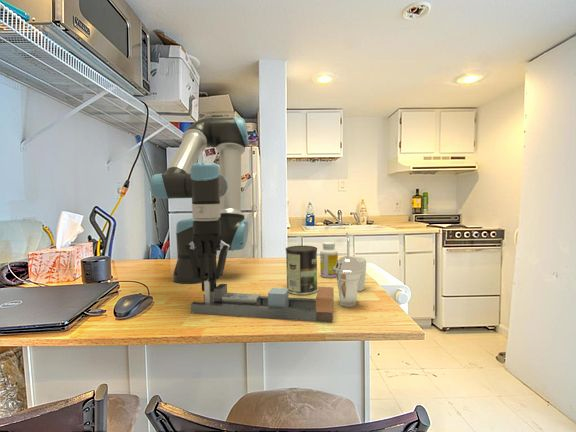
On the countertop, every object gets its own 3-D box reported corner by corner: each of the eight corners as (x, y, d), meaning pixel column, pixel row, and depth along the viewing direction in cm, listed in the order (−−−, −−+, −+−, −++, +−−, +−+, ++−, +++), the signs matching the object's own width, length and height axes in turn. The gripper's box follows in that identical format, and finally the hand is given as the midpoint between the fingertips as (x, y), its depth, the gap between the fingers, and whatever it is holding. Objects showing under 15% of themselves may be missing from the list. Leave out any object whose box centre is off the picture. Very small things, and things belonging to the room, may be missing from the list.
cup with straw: (327, 305, 85) (327, 235, 83) (341, 296, 92) (340, 232, 90) (356, 311, 80) (356, 238, 78) (367, 301, 87) (368, 233, 86)
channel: (190, 313, 81) (190, 291, 80) (206, 301, 89) (205, 281, 89) (332, 322, 73) (332, 298, 73) (333, 308, 82) (333, 287, 82)
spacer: (268, 315, 78) (267, 293, 78) (272, 308, 83) (272, 287, 82) (285, 316, 78) (285, 294, 77) (288, 309, 82) (288, 288, 82)
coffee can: (318, 285, 103) (318, 245, 101) (315, 296, 92) (315, 251, 91) (289, 284, 105) (289, 244, 103) (283, 294, 94) (282, 250, 93)
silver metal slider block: (214, 309, 82) (213, 288, 81) (221, 304, 86) (220, 283, 86) (256, 312, 79) (255, 290, 79) (260, 306, 84) (260, 285, 83)
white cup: (361, 293, 94) (361, 262, 93) (338, 289, 98) (338, 260, 97) (369, 287, 100) (369, 257, 100) (347, 283, 105) (346, 255, 104)
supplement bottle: (340, 275, 116) (340, 242, 115) (333, 279, 110) (333, 245, 109) (324, 272, 119) (324, 241, 118) (317, 276, 114) (317, 243, 113)
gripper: (177, 220, 80) (181, 305, 82) (222, 220, 77) (225, 309, 79) (192, 218, 87) (195, 296, 89) (234, 218, 85) (236, 299, 86)
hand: (209, 302), depth 84 cm, fingers closed
